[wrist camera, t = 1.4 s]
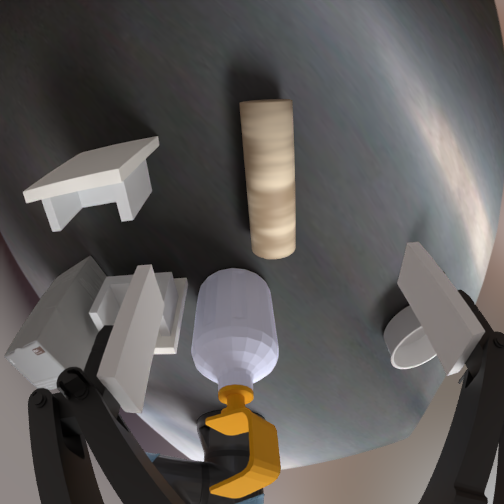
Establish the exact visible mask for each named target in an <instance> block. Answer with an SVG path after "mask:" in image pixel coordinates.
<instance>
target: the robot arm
mask: <svg viewBox="0 0 504 504" xmlns="http://www.w3.org/2000/svg"><path fill="white" fill-rule="evenodd" d="M397 284H398V286H399V288H400V289H401V291H402V293H403V294H404V296H405V298H406V299H407V301H408V303H409V305H410V306H411V308H412V310H413V312H414V313H415V315H416V317H417V319H418V320H419V322H420V324H421V326H422V328H423V330H424V331H425V333H426V335H427V337H428V339H429V341H430V343H431V345H432V347H433V348H434V350H435V352H436V354H437V356H438V358H439V360H440V362H441V364H442V366H443V368H444V371H445V373H446V375H447V376H448V375H451V374H454V373H457V372H459V371H460V370H461V369H462V367H463V366H464V364H466V366H467V368H468V369H467V370H466V372H465V373H464V375H463V376H462V377H461V379H460V380H459V382H458V383H459V384H460V383H461V381H462V380H463V379H464V380H463V384H462V389H461V393H460V396H459V400H458V404H457V407H456V411H455V414H454V417H453V421H452V424H451V427H450V430H449V433H448V436H447V439H446V442H445V444H444V447H443V450H442V453H441V455H440V458H439V460H438V463H437V465H436V468H435V470H434V472H433V475H432V477H431V479H430V482H429V484H428V486H427V488H426V490H425V492H424V494H423V496H422V498H421V500H420V502H419V503H418V504H487V503H488V500H487V497H486V496H485V495H484V491H485V488H486V485H487V482H488V479H489V475H490V472H491V469H492V466H493V462H494V459H495V455H496V451H497V447H498V443H499V450H498V451H499V452H498V466H497V476H496V485H495V494H494V500H493V504H504V334H503V333H501V332H494V331H493V330H492V328H491V327H490V325H489V324H488V322H487V321H486V319H485V318H484V316H483V315H482V313H481V312H480V311H479V310H478V308H477V306H476V305H474V302H473V301H472V299H471V298H470V296H469V295H467V294H466V293H465V292H464V291H462V290H457V289H456V288H455V287H454V285H453V284H452V283H451V281H450V280H449V279H448V277H447V276H446V275H445V274H444V272H443V271H442V270H441V268H440V267H439V266H438V265H437V263H436V262H435V261H434V260H433V258H432V257H431V256H430V255H429V254H428V252H427V251H426V250H425V249H424V247H423V246H422V245H421V244H420V243H419V242H411V243H407V246H406V250H405V254H404V259H403V263H402V267H401V271H400V274H399V278H398V282H397ZM164 306H165V304H164V301H163V298H162V295H161V292H160V289H159V286H158V283H157V280H156V277H155V274H154V271H153V268H152V264H150V265H138V266H137V268H136V270H135V273H134V275H133V277H132V280H131V282H130V285H129V287H128V290H127V292H126V295H125V297H124V300H123V302H122V305H121V307H120V310H119V313H118V315H117V318H116V321H115V323H114V325H104V326H103V328H102V329H101V330H100V331H99V332H98V333H97V336H96V339H95V341H94V345H93V346H92V349H91V352H90V355H89V357H88V360H87V363H86V366H85V368H84V371H83V370H82V369H81V368H78V367H69V368H67V369H65V370H64V371H62V372H61V373H60V375H59V376H58V379H57V382H56V384H57V389H58V390H59V391H60V393H55V394H52V393H51V392H50V391H49V390H48V389H46V388H38V389H37V390H35V391H34V392H33V393H32V394H31V395H30V397H29V401H28V414H29V429H30V440H31V449H32V457H33V464H34V470H35V475H36V481H37V486H38V491H39V496H40V500H41V504H104V502H103V499H102V496H101V494H100V490H99V488H98V484H97V481H96V478H95V474H94V471H93V467H92V463H91V460H90V456H89V452H88V448H87V444H86V441H87V443H88V444H89V447H90V449H91V450H92V452H93V454H94V456H95V458H96V460H97V462H98V463H99V465H100V467H101V469H102V470H103V472H104V474H105V476H106V477H107V479H108V480H109V482H110V484H111V485H112V487H113V489H114V490H115V491H116V493H117V495H118V496H119V498H120V499H121V501H122V502H123V504H263V503H264V493H263V488H261V489H259V490H257V491H255V492H253V493H251V494H248V495H246V496H244V497H241V498H229V497H224V496H219V495H215V494H211V492H210V490H209V488H210V487H211V486H213V485H215V484H217V483H220V482H222V481H224V480H226V479H228V478H230V477H232V476H234V475H236V474H238V473H240V472H242V471H243V470H244V469H245V468H246V467H247V465H248V462H249V457H250V448H249V432H245V433H241V434H238V435H225V434H223V433H221V432H219V431H217V430H215V429H213V428H211V427H209V426H207V425H206V424H205V419H206V418H207V417H211V416H215V415H218V414H221V411H222V410H220V411H214V412H210V413H207V414H204V415H202V416H201V417H200V418H199V419H198V422H197V432H198V435H199V438H200V441H201V444H202V447H203V450H204V462H201V461H194V460H187V459H181V458H175V457H170V456H164V455H160V454H153V453H147V452H144V451H143V449H142V448H141V446H140V445H139V443H138V442H137V440H136V439H135V438H134V436H133V434H132V433H131V431H130V430H129V428H128V427H127V425H126V424H125V422H124V420H123V419H122V417H121V416H120V415H119V409H120V406H121V407H122V408H123V410H124V411H125V412H131V413H142V410H143V405H144V399H145V394H146V388H147V383H148V378H149V373H150V368H151V363H152V359H153V354H154V349H155V345H156V340H157V336H158V332H159V327H160V323H161V319H162V315H163V310H164ZM252 413H253V412H252ZM254 414H256V413H254ZM256 415H257V416H259V417H261V418H262V419H264V418H263V417H262V416H260V415H258V414H256ZM264 420H265V419H264Z"/></svg>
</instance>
